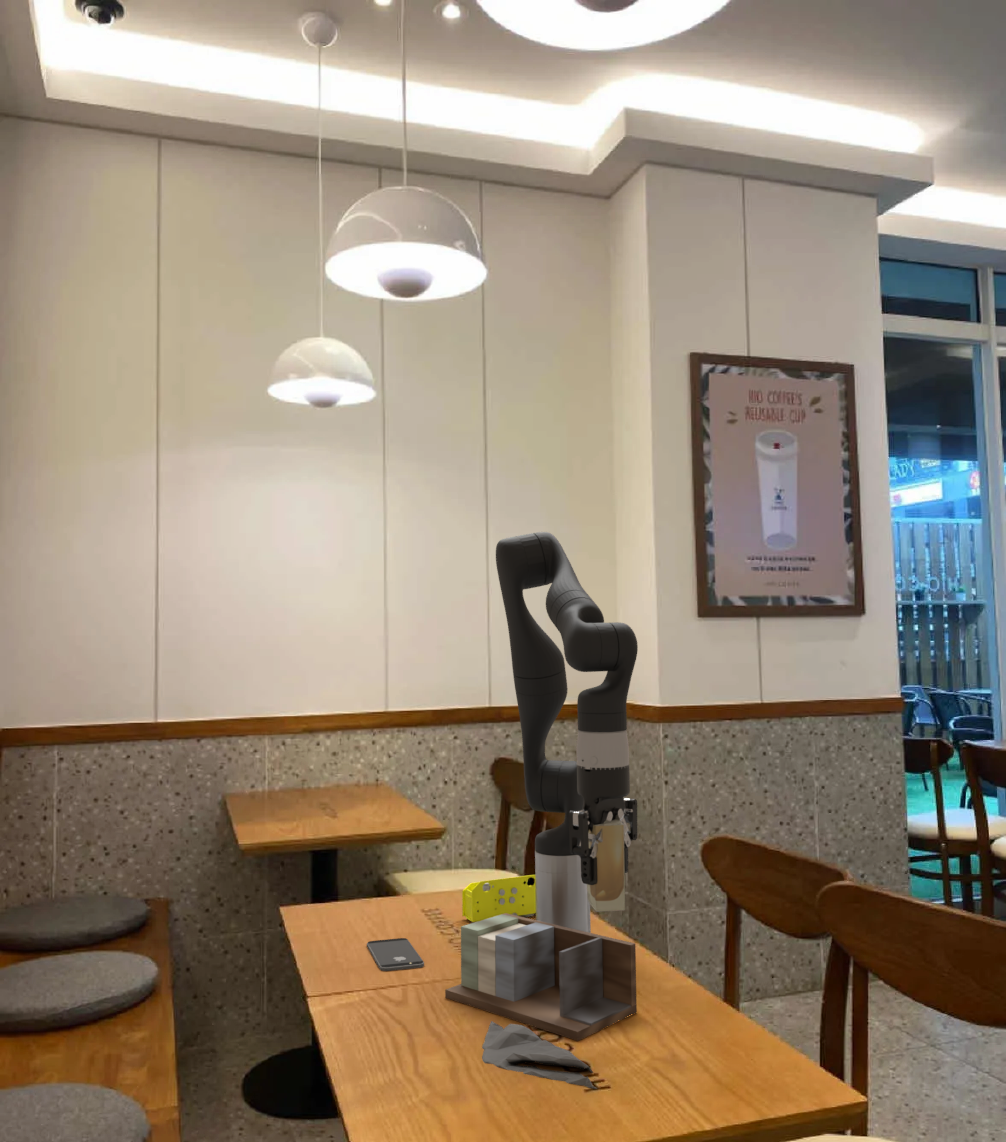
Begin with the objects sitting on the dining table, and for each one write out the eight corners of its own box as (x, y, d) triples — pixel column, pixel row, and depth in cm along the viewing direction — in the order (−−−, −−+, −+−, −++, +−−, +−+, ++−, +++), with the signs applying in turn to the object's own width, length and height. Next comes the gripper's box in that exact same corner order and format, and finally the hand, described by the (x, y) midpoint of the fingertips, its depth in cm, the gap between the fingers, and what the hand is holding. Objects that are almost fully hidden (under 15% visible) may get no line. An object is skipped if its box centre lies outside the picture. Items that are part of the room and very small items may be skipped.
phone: (365, 947, 184) (380, 974, 169) (365, 941, 184) (380, 968, 169) (406, 942, 187) (425, 969, 171) (406, 937, 187) (425, 963, 171)
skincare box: (586, 900, 147) (585, 815, 148) (616, 898, 148) (614, 814, 148) (595, 913, 141) (594, 824, 141) (626, 911, 141) (624, 823, 142)
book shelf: (506, 975, 167) (505, 911, 167) (636, 1012, 149) (635, 942, 150) (445, 997, 156) (445, 930, 157) (577, 1041, 139) (576, 964, 140)
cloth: (454, 1030, 145) (454, 1014, 145) (544, 1018, 149) (544, 1003, 149) (513, 1109, 120) (513, 1089, 121) (618, 1092, 125) (618, 1073, 125)
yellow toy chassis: (473, 927, 196) (473, 883, 197) (461, 920, 201) (461, 877, 202) (546, 916, 203) (545, 874, 204) (533, 910, 208) (532, 868, 209)
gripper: (609, 754, 153) (612, 864, 152) (551, 765, 142) (553, 884, 141) (652, 758, 148) (654, 872, 147) (595, 770, 137) (597, 893, 137)
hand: (605, 878), depth 144 cm, fingers closed on skincare box, 7 cm apart
